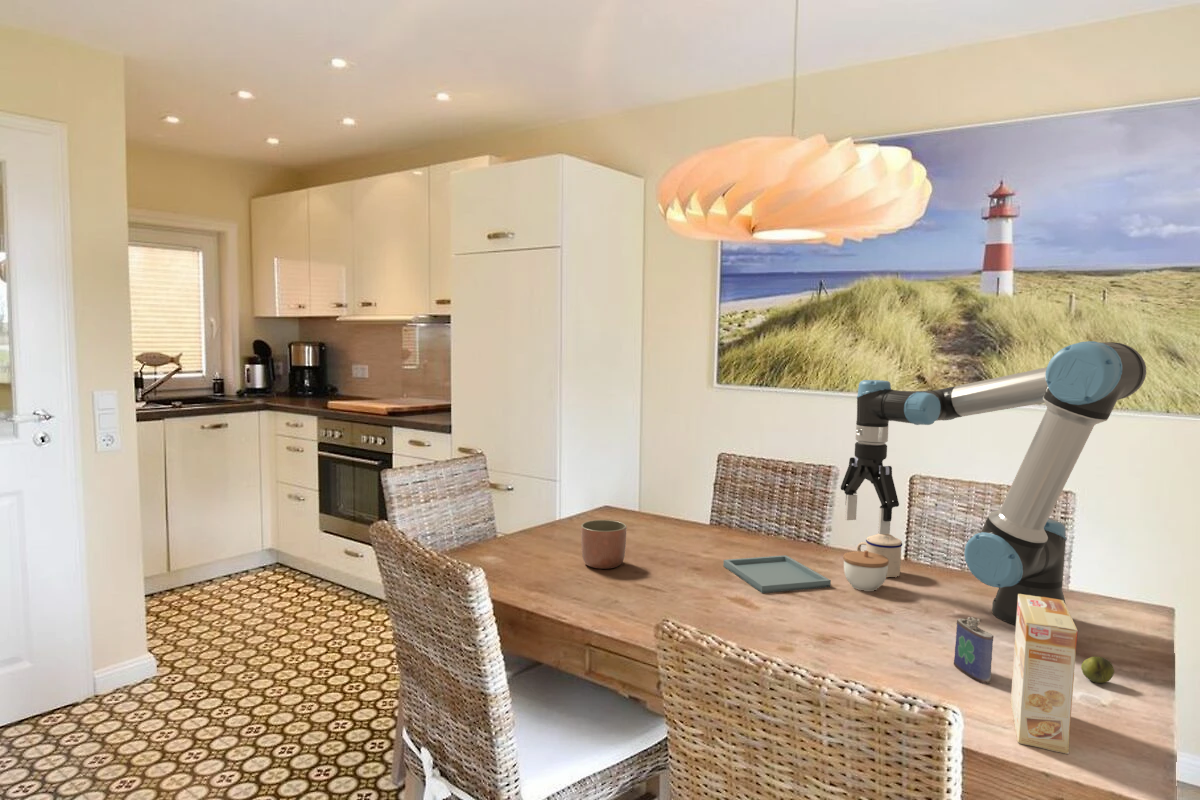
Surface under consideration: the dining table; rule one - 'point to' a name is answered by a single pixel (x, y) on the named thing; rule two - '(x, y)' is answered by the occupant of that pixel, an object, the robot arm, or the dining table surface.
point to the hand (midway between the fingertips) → (866, 526)
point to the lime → (1097, 669)
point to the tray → (776, 574)
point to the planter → (603, 543)
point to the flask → (973, 650)
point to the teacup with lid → (885, 550)
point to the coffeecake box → (1043, 672)
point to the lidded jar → (865, 569)
